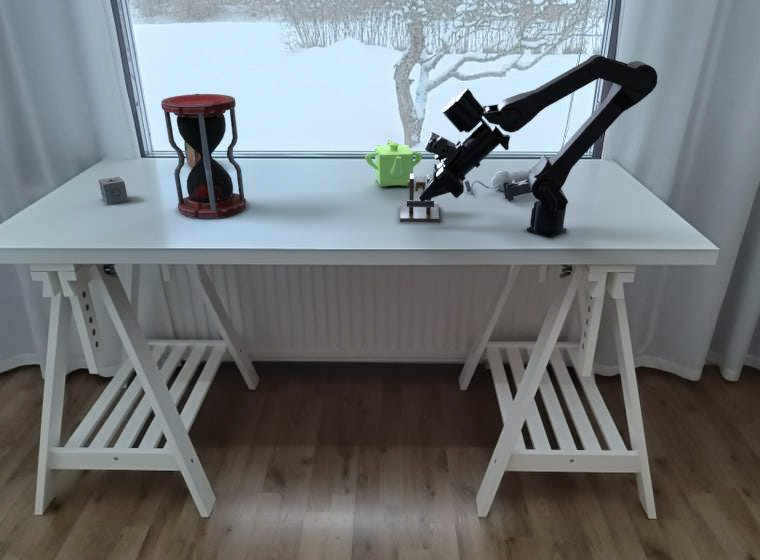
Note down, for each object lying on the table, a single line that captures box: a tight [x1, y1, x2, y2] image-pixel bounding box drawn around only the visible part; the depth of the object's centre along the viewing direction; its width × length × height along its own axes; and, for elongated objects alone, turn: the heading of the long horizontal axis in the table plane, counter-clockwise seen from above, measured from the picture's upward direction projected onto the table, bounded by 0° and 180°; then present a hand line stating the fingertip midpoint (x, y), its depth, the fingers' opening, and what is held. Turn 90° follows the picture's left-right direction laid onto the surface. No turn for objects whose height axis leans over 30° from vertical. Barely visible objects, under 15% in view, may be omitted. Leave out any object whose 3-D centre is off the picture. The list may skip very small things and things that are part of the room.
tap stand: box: [399, 173, 440, 223], centre depth 153 cm, size 11×9×9 cm
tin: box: [183, 140, 200, 169], centre depth 191 cm, size 15×3×8 cm, turn 25°
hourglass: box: [160, 93, 247, 219], centre depth 153 cm, size 16×16×25 cm
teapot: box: [364, 139, 423, 188], centre depth 175 cm, size 15×13×11 cm
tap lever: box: [406, 176, 435, 207], centre depth 148 cm, size 11×6×2 cm, turn 177°
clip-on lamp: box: [463, 168, 532, 202], centre depth 169 cm, size 12×6×18 cm
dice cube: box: [98, 176, 129, 206], centre depth 164 cm, size 5×5×5 cm
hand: (420, 199), depth 144 cm, fingers closed, pressing on tap lever
